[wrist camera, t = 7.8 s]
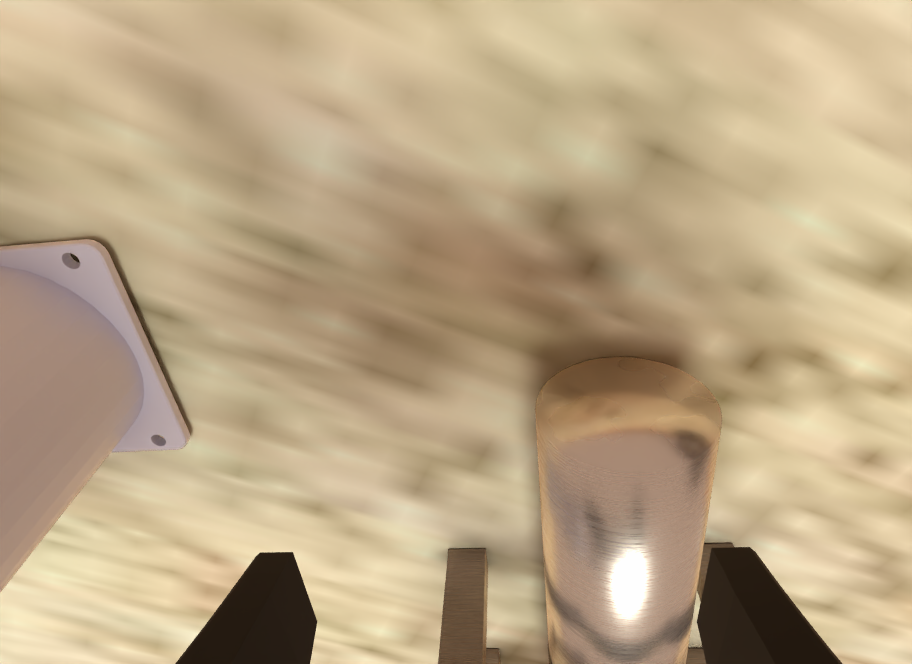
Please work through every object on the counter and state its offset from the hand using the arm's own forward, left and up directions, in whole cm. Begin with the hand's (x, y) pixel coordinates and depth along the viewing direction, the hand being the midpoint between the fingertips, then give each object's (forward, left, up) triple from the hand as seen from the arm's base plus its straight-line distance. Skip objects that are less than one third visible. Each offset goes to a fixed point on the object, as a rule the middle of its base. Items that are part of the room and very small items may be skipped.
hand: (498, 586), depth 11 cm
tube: (+3, -11, -9) cm, 14 cm away
